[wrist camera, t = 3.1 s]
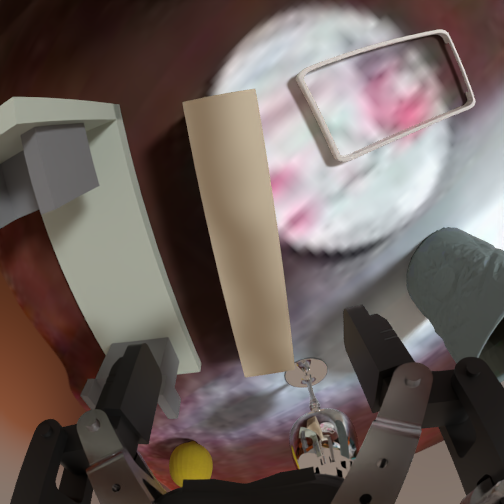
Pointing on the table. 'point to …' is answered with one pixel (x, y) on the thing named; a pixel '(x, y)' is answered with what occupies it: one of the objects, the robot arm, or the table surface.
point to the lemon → (190, 463)
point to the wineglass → (320, 427)
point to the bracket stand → (95, 229)
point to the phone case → (369, 148)
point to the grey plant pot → (462, 294)
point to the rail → (242, 226)
